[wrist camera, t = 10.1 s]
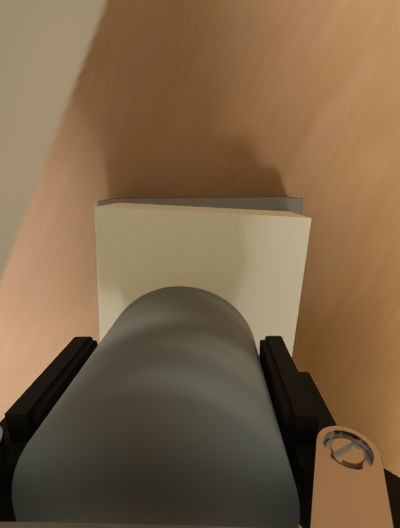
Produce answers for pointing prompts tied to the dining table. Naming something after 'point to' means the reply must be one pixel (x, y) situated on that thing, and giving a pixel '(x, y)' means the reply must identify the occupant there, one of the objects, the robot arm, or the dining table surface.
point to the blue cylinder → (163, 427)
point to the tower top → (204, 260)
